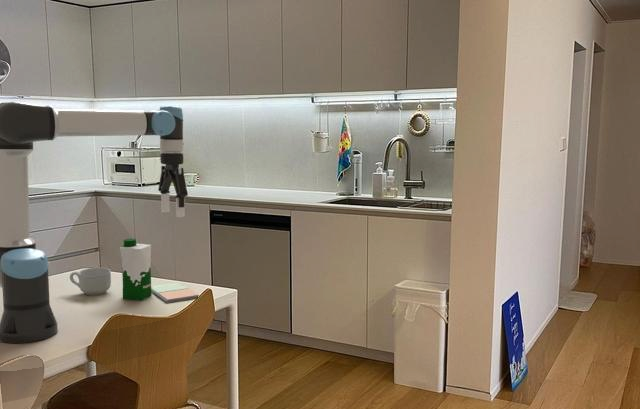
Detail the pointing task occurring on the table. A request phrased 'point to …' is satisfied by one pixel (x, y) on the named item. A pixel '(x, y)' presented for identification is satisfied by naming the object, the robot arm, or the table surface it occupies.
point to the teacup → (93, 280)
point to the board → (173, 292)
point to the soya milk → (136, 270)
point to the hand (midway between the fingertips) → (172, 214)
